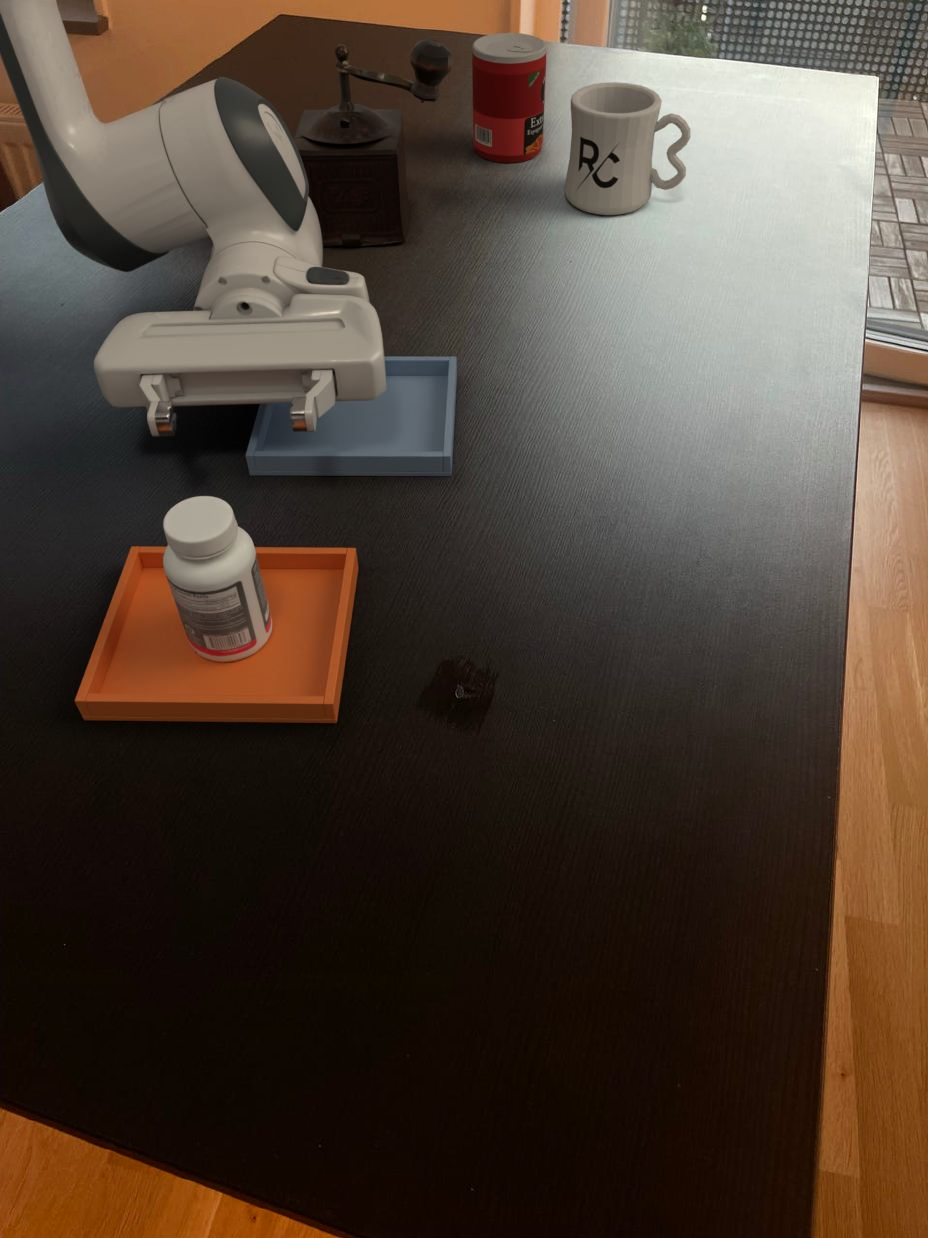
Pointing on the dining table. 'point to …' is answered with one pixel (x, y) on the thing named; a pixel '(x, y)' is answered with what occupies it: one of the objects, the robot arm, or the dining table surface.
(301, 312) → the robot arm
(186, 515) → the pill bottle
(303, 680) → the orange tray
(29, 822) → the dining table surface
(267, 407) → the blue tray
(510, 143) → the canned food
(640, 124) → the mug
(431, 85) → the manual coffee grinder
